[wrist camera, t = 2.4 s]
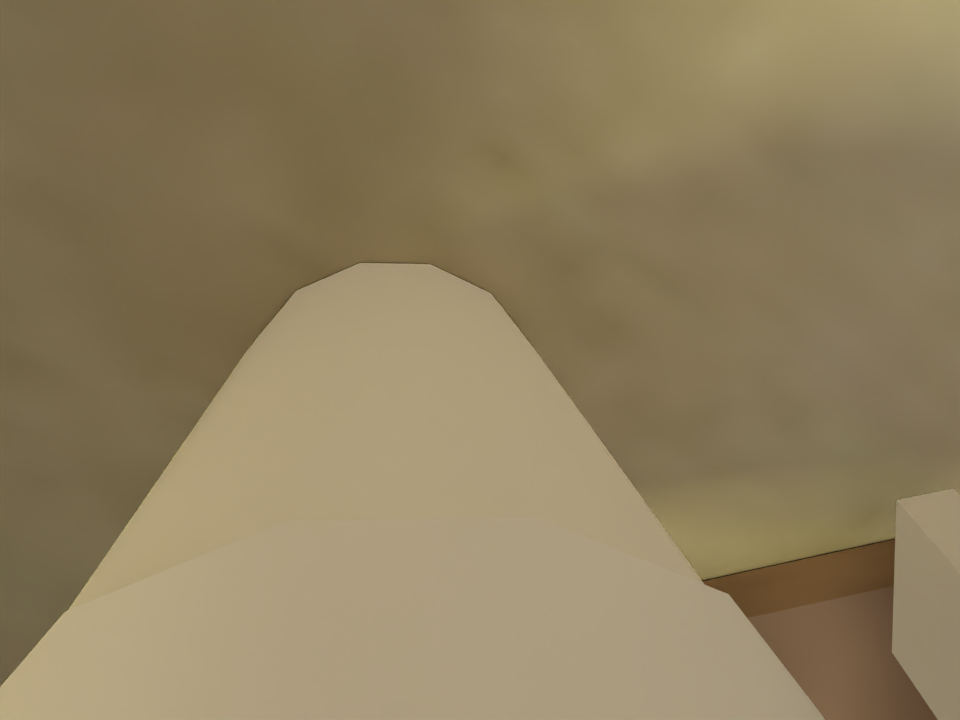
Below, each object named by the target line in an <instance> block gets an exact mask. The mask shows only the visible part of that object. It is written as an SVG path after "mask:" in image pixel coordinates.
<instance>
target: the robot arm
mask: <svg viewBox="0 0 960 720" xmlns="http://www.w3.org/2000/svg"><path fill="white" fill-rule="evenodd" d="M892 653H893V655H894V656H895V658H896V659H897V661H898V662H899V663H900V665H901V666H902V668H903V669H904V671H905V672H906V674H907V675H908V677H909V678H910V680H911V681H912V683H913V684H914V685H915V687H916V688H917V690H918V691H919V693H920V694H921V696H922V697H923V699H924V700H925V702H926V703H927V705H928V706H929V707H930V709H931V710H932V712H933V713H934V715H935V716H936V718H937V719H938V720H960V494H959V493H958V492H957V491H956V490H955V489H954V488H953V489H948V490H943V491H938V492H934V493H929V494H924V495H919V496H914V497H909V498H905V499H900V500H896V530H895V563H894V597H893V631H892Z"/></svg>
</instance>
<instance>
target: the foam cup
mask: <svg viewBox="0 0 960 720" xmlns="http://www.w3.org/2000/svg"><path fill="white" fill-rule="evenodd" d="M0 720H825V719H824V717H823V716H822V714H821V713H820V712H819V710H818V709H817V708H816V707H815V705H814V704H813V703H812V701H811V700H810V699H809V698H808V696H807V695H806V694H805V692H804V691H803V690H802V688H801V687H800V686H799V685H798V683H797V682H796V681H795V679H794V678H793V677H792V675H791V674H790V673H789V672H788V670H787V669H786V668H785V666H784V665H783V664H782V663H781V661H780V660H779V659H778V657H777V656H776V655H775V653H774V652H773V651H772V650H771V648H770V647H769V646H768V644H767V643H766V642H765V641H764V639H763V638H762V637H761V635H760V634H759V633H758V631H757V630H756V629H755V628H754V626H753V625H752V624H751V622H750V621H749V620H748V619H747V617H746V616H745V615H744V613H743V612H742V611H741V609H740V608H739V607H738V606H737V604H736V603H735V602H734V600H733V599H732V598H731V597H730V595H729V594H727V593H724V592H722V591H719V590H717V589H714V588H712V587H709V586H707V585H705V584H704V583H703V581H702V580H701V579H700V577H699V576H698V574H697V573H696V572H695V570H694V569H693V568H692V566H691V565H690V563H689V562H688V561H687V559H686V558H685V556H684V555H683V554H682V552H681V551H680V550H679V548H678V547H677V545H676V544H675V543H674V541H673V540H672V538H671V537H670V536H669V534H668V533H667V532H666V530H665V529H664V527H663V526H662V525H661V523H660V522H659V521H658V519H657V518H656V516H655V515H654V514H653V512H652V511H651V509H650V508H649V507H648V505H647V504H646V503H645V501H644V500H643V498H642V497H641V496H640V494H639V493H638V491H637V490H636V489H635V487H634V486H633V485H632V483H631V482H630V480H629V479H628V478H627V476H626V475H625V473H624V472H623V471H622V469H621V468H620V467H619V465H618V464H617V462H616V461H615V460H614V458H613V457H612V455H611V454H610V453H609V451H608V450H607V449H606V447H605V446H604V444H603V443H602V442H601V440H600V439H599V437H598V436H597V435H596V433H595V432H594V431H593V429H592V428H591V426H590V425H589V424H588V422H587V421H586V420H585V418H584V417H583V415H582V414H581V413H580V411H579V410H578V408H577V407H576V406H575V404H574V403H573V402H572V400H571V399H570V397H569V396H568V395H567V393H566V392H565V390H564V389H563V388H562V386H561V385H560V384H559V382H558V381H557V379H556V378H555V377H554V375H553V374H552V372H551V371H550V370H549V368H548V367H547V366H546V364H545V363H544V361H543V360H542V359H541V357H540V356H539V354H538V353H537V352H536V351H535V349H534V348H533V347H532V345H531V344H530V343H529V341H528V340H527V339H526V338H525V336H524V335H523V334H522V332H521V331H520V330H519V329H518V327H517V326H516V325H515V323H514V322H513V321H512V320H511V318H510V317H509V316H508V314H507V313H506V312H505V311H504V309H503V308H502V307H501V305H500V304H499V303H498V302H497V301H496V299H495V298H494V297H493V295H492V294H491V293H489V292H487V291H485V290H483V289H481V288H479V287H477V286H475V285H473V284H470V283H468V282H466V281H464V280H462V279H460V278H458V277H456V276H454V275H452V274H450V273H448V272H445V271H443V270H441V269H439V268H437V267H435V266H433V265H431V264H392V263H359V264H356V265H354V266H352V267H349V268H347V269H345V270H343V271H340V272H338V273H336V274H333V275H331V276H329V277H326V278H324V279H322V280H320V281H317V282H315V283H313V284H310V285H308V286H306V287H303V288H301V289H299V290H297V291H296V292H295V293H294V294H293V295H292V297H291V298H290V299H289V300H288V301H287V302H286V304H285V305H284V306H283V307H282V308H281V310H280V311H279V312H278V313H277V314H276V316H275V317H274V318H273V319H272V320H271V322H270V323H269V324H268V325H267V326H266V327H265V329H264V330H263V331H262V332H261V333H260V335H259V336H258V337H257V338H256V339H255V342H254V343H253V344H252V345H251V346H250V348H249V349H248V350H247V351H246V352H245V354H244V355H243V357H242V358H241V360H240V361H239V363H238V364H237V366H236V367H235V368H234V370H233V371H232V373H231V374H230V376H229V377H228V379H227V380H226V381H225V383H224V384H223V386H222V387H221V389H220V390H219V392H218V393H217V395H216V396H215V397H214V399H213V400H212V402H211V403H210V405H209V406H208V408H207V409H206V411H205V412H204V413H203V415H202V416H201V418H200V419H199V421H198V422H197V424H196V425H195V426H194V428H193V429H192V431H191V432H190V434H189V435H188V437H187V438H186V440H185V441H184V442H183V444H182V445H181V447H180V448H179V450H178V451H177V453H176V454H175V456H174V457H173V458H172V460H171V461H170V463H169V464H168V466H167V467H166V469H165V470H164V471H163V473H162V474H161V476H160V477H159V479H158V480H157V482H156V483H155V485H154V486H153V487H152V489H151V490H150V492H149V493H148V495H147V496H146V498H145V499H144V501H143V502H142V503H141V505H140V506H139V508H138V509H137V511H136V512H135V514H134V515H133V516H132V518H131V519H130V521H129V522H128V524H127V525H126V527H125V528H124V530H123V531H122V532H121V534H120V535H119V537H118V538H117V540H116V541H115V543H114V544H113V545H112V547H111V548H110V550H109V551H108V553H107V554H106V556H105V557H104V559H103V560H102V561H101V563H100V564H99V566H98V567H97V569H96V570H95V572H94V573H93V575H92V576H91V577H90V579H89V580H88V582H87V583H86V585H85V586H84V588H83V589H82V590H81V592H80V593H79V595H78V596H77V598H76V599H75V601H74V602H73V604H72V605H71V606H70V608H69V609H68V611H65V612H64V613H63V614H62V616H61V617H60V618H59V619H58V620H57V621H56V623H55V624H54V625H53V626H52V627H51V628H50V630H49V631H48V632H47V633H46V634H45V635H44V637H43V638H42V639H41V640H40V641H39V642H38V644H37V645H36V646H35V647H34V648H33V649H32V651H31V652H30V653H29V654H28V655H27V656H26V658H25V659H24V660H23V661H22V662H21V663H20V664H19V666H18V667H17V668H16V669H15V670H14V671H13V673H12V674H11V675H10V676H9V677H8V678H7V680H6V681H5V682H4V683H3V684H2V685H1V687H0Z"/></svg>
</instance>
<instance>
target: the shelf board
mask: <svg viewBox="0 0 960 720" xmlns="http://www.w3.org/2000/svg"><path fill="white" fill-rule="evenodd" d="M894 563H895V539H894V540H890V541H885V542H880V543H876V544H871V545H867V546H862V547H858V548H853V549H848V550H844V551H839V552H835V553H830V554H826V555H821V556H816V557H812V558H807V559H803V560H798V561H794V562H789V563H785V564H780V565H775V566H771V567H766V568H762V569H757V570H753V571H748V572H743V573H739V574H734V575H730V576H725V577H721V578H716V579H711V580H707V581H703V583H704V584H705V585H707V586H709V587H712V588H714V589H717V590H719V591H722V592H724V593H727V594H729V595H730V597H731V598H732V599H733V600H734V602H735V603H736V604H737V606H738V607H739V608H740V609H741V611H742V612H743V613H744V615H745V616H746V617H747V619H748V620H749V621H750V622H751V624H752V625H753V626H754V628H755V629H756V630H757V631H758V633H759V634H760V635H761V637H762V638H763V639H764V641H765V642H766V643H767V644H768V646H769V647H770V648H771V650H772V651H773V652H774V653H775V655H776V656H777V657H778V659H779V660H780V661H781V663H782V664H783V665H784V666H785V668H786V669H787V670H788V672H789V673H790V674H791V675H792V677H793V678H794V679H795V681H796V682H797V683H798V685H799V686H800V687H801V688H802V690H803V691H804V692H805V694H806V695H807V696H808V698H809V699H810V700H811V701H812V703H813V704H814V705H815V707H816V708H817V709H818V710H819V712H820V713H821V714H822V716H823V717H824V719H825V720H938V719H937V718H936V716H935V715H934V713H933V712H932V710H931V709H930V707H929V706H928V705H927V703H926V702H925V700H924V699H923V697H922V696H921V694H920V693H919V691H918V690H917V688H916V687H915V685H914V684H913V683H912V681H911V680H910V678H909V677H908V675H907V674H906V672H905V671H904V669H903V668H902V666H901V665H900V663H899V662H898V661H897V659H896V658H895V656H894V655H893V653H892V631H893V597H894Z"/></svg>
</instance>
